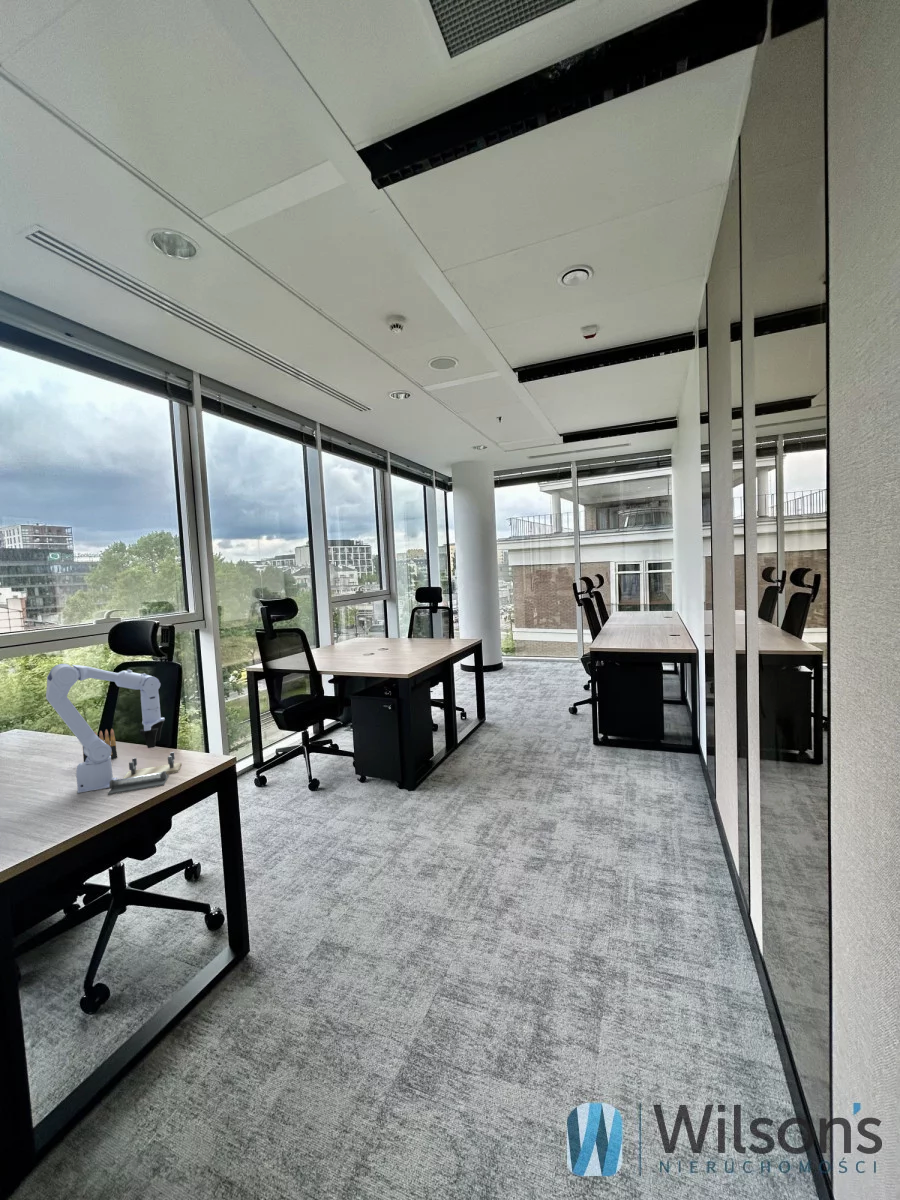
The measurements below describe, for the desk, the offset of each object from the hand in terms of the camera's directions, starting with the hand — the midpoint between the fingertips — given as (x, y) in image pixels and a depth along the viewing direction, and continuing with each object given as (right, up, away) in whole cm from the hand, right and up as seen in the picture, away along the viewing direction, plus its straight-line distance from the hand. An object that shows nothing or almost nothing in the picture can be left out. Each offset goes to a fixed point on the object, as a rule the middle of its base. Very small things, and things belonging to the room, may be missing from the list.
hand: (153, 744), depth 175 cm
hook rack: (+2, -10, -3) cm, 10 cm away
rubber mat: (+3, -10, -13) cm, 17 cm away
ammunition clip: (-28, -10, +11) cm, 32 cm away
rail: (+3, -9, -13) cm, 16 cm away
